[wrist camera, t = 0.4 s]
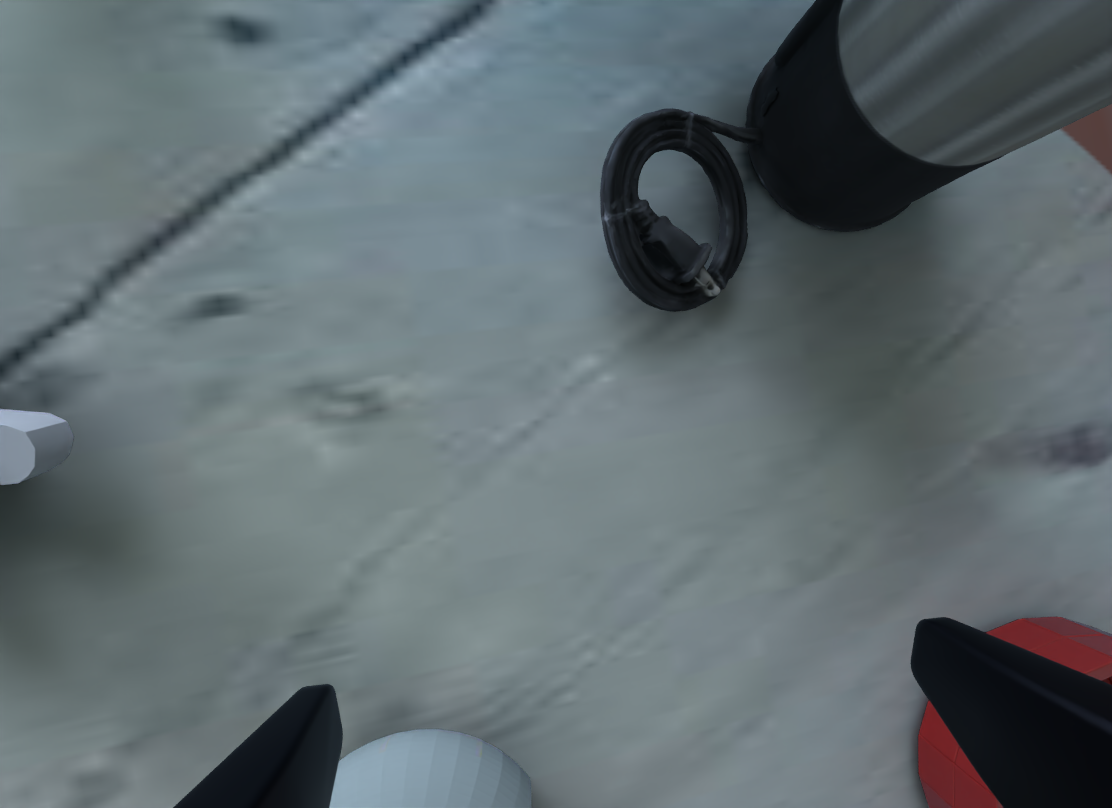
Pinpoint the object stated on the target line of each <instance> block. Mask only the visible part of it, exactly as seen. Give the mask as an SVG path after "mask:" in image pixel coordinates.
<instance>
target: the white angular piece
mask: <svg viewBox="0 0 1112 808" xmlns="http://www.w3.org/2000/svg"><path fill="white" fill-rule="evenodd" d="M73 440H74V435H73V433H72V431H71V429H70V426H69V424H68V422H67V421H66V420H64V419H61V418H59V417H57V416H55V415H53V414H51V413H43V412H31V411H19V410H7V409H0V484H1V485H8V484H17V483H20V482H23V481H25V480H28V479H30V478H32V477H35V476H37V475H40V474H42V473H44V472H47V471H49V470H51V469H53V468H54V467H56V466H58V465H59V464H61V463H62V462H63V461H64V460H65V459H66V458H67V457H68V456H69V455H70V452H71V448H72V444H73Z"/></svg>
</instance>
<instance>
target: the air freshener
mask: <svg viewBox="0 0 1112 808" xmlns="http://www.w3.org/2000/svg"><path fill="white" fill-rule="evenodd" d="M329 808H531V780H530V777H529V776H528V775H527V774H526V773H525V772H524V770H523V769H522V768H521V767H520V766H519V765H518V764H517V763H516V762H515V761H514V760H512V759H511V758H510V757H509V756H507V755H506V754H505V753H503V752H502V751H501V750H500V749H498V748H496V747H495V746H493V745H491V744H489V743H487V742H485V741H483V740H481V739H479V738H476V737H473V736H470V735H467V734H464V733H461V732H456V731H449V730H443V729H416V730H410V731H405V732H399V733H395V734H392V735H389V736H386V737H383V738H380V739H377V740H374V741H372V742H370V743H368V744H366V745H364V746H362V747H360V748H359V749H357V750H355V751H353V752H351V753H350V754H348V755H347V756H346V757H344V758H343V759H342V760H340V761H339V763H338V768H337V773H336V777H335V782H334V787H333V792H332V797H331V802H330V807H329Z"/></svg>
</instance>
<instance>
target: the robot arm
mask: <svg viewBox="0 0 1112 808" xmlns="http://www.w3.org/2000/svg"><path fill="white" fill-rule="evenodd" d="M911 669H912V673H913V675H914V677H915V679H916V681H917V683H918V684H919V686H920V687H921V689H922V690H923V692H924V693H925V695H926V696H927V698H928V699H929V701H930V702H931V704H932V705H933V707H934V708H935V710H936V711H937V713H938V714H939V716H940V717H941V719H942V720H943V722H944V723H945V725H946V726H947V728H948V729H949V731H950V732H951V734H952V735H953V737H954V738H955V740H956V741H957V743H958V744H959V746H960V748H961V749H962V751H963V752H964V754H965V755H966V757H967V758H968V760H969V761H970V763H971V764H972V766H973V767H974V768H975V770H976V771H977V773H978V774H979V776H980V777H981V779H982V780H983V781H984V783H985V784H986V785H987V787H988V788H989V789H990V791H991V792H992V793H993V795H994V796H995V797H996V799H997V800H998V801H999V803H1000V804H1001V805H1002V807H1003V808H1112V685H1110V684H1108V683H1106V682H1103V681H1101V680H1098V679H1096V678H1094V677H1091V676H1089V675H1086V674H1084V673H1081V672H1079V671H1077V670H1074V669H1072V668H1069V667H1067V666H1064V665H1062V664H1060V663H1057V662H1055V661H1052V660H1050V659H1048V658H1045V657H1043V656H1040V655H1038V654H1035V653H1033V652H1031V651H1028V650H1026V649H1023V648H1021V647H1018V646H1016V645H1014V644H1011V643H1009V642H1006V641H1004V640H1002V639H999V638H997V637H994V636H992V635H989V634H987V633H985V632H982V631H980V630H977V629H975V628H972V627H970V626H968V625H965V624H963V623H960V622H958V621H956V620H953V619H950V618H946V617H940V618H931V619H923V620H921V621H920V622H919V623H918V624H917V626H916V631H915V637H914V643H913V649H912V655H911ZM342 739H343V731H342V724H341V719H340V714H339V708H338V703H337V698H336V693H335V690H334V688H333V686H331V685H329V684H323V685H314V686H306V687H303V688H301V689H300V690H299V691H297V692H296V693H295V694H294V695H293V696H292V697H291V698H290V699H289V700H288V701H287V702H286V703H284V704H283V705H282V706H281V707H280V708H279V709H278V710H277V711H276V712H275V713H274V714H273V715H272V716H271V717H269V718H268V719H267V720H266V721H265V722H264V723H263V724H262V725H261V726H260V727H259V728H258V729H257V730H256V731H255V732H253V733H252V734H251V735H250V736H249V737H248V738H247V739H246V740H245V741H244V742H243V743H242V744H241V745H240V746H239V747H237V748H236V749H235V750H234V751H233V752H232V753H231V754H230V755H229V756H228V757H227V758H226V759H225V760H224V761H222V762H221V763H220V764H219V765H218V766H217V767H216V768H215V769H214V770H213V771H212V772H211V773H210V774H209V775H208V776H206V777H205V778H204V779H203V780H202V781H201V782H200V783H199V784H198V785H197V786H196V787H195V788H194V789H193V790H192V791H190V792H189V793H188V794H187V795H186V796H185V797H184V798H183V799H182V800H181V801H180V802H179V803H178V804H177V805H175V806H174V807H173V808H329V807H330V802H331V797H332V792H333V787H334V782H335V777H336V773H337V768H338V763H339V758H340V753H341V748H342Z"/></svg>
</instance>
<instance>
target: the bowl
mask: <svg viewBox="0 0 1112 808" xmlns="http://www.w3.org/2000/svg"><path fill="white" fill-rule="evenodd" d="M985 633H987V634H989V635H992V636H994V637H997V638H999V639H1002V640H1004V641H1006V642H1009V643H1011V644H1014V645H1016V646H1018V647H1021V648H1023V649H1026V650H1028V651H1031V652H1033V653H1035V654H1038V655H1040V656H1043V657H1045V658H1048V659H1050V660H1052V661H1055V662H1057V663H1060V664H1062V665H1064V666H1067V667H1069V668H1072V669H1074V670H1077V671H1079V672H1081V673H1084V674H1086V675H1089V676H1091V677H1094V678H1096V679H1098V680H1101V681H1103V682H1106V683H1108V684H1110V685H1112V634H1110V633H1108V632H1105V631H1102V630H1100V629H1097V628H1095V627H1092V626H1089V625H1085V624H1082V623H1079V622H1075V621H1072V620H1069V619H1065V618H1062V617H1040V618H1022V619H1017V620H1015V621H1012V622H1010V623H1008V624H1005V625H1003V626H1000V627H998V628H995V629H993V630H990V631H988V632H985ZM918 774H919V778H920V781H921V784H922V787H923V790H924V793H925V796H926V799H927V803H928V806H929V808H1003V807H1002V805H1001V804H1000V803H999V801H998V800H997V799H996V797H995V796H994V795H993V793H992V792H991V791H990V789H989V788H988V787H987V785H986V784H985V783H984V781H983V780H982V779H981V777H980V776H979V774H978V773H977V771H976V770H975V768H974V767H973V766H972V764H971V763H970V761H969V760H968V758H967V757H966V755H965V754H964V752H963V751H962V749H961V748H960V746H959V744H958V743H957V741H956V740H955V738H954V737H953V735H952V734H951V732H950V731H949V729H948V728H947V726H946V725H945V723H944V722H943V720H942V719H941V717H940V716H939V714H938V713H937V711H936V710H935V708H934V707H933V705H932V704H931V702H930V701H929V700H928V703H927V706H926V710H925V713H924V717H923V720H922V723H921V727H920V730H919V734H918Z"/></svg>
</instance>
